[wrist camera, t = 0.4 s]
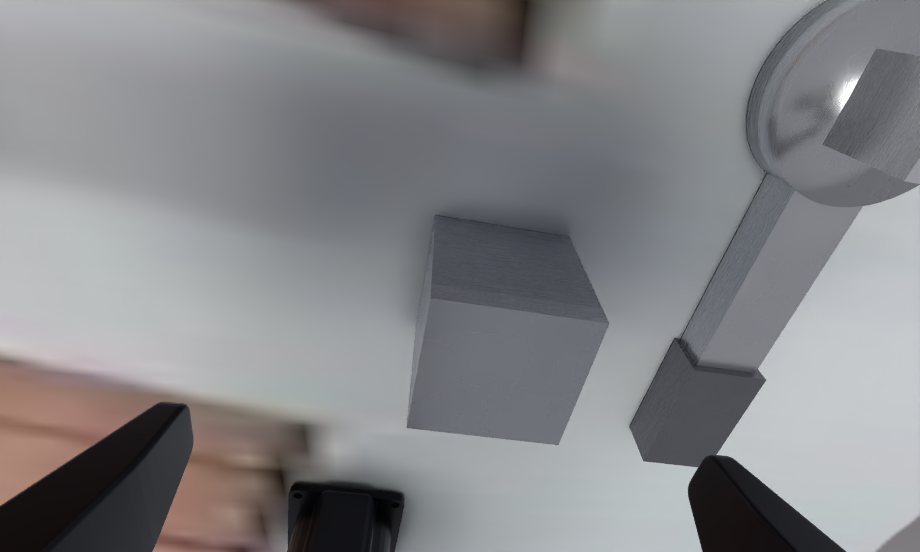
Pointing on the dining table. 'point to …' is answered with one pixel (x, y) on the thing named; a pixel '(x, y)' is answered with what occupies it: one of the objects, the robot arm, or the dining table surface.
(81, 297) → the dining table surface
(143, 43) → the dining table surface
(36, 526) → the robot arm
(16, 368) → the dining table surface
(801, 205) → the gray handled tool
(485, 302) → the gray block
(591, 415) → the dining table surface
